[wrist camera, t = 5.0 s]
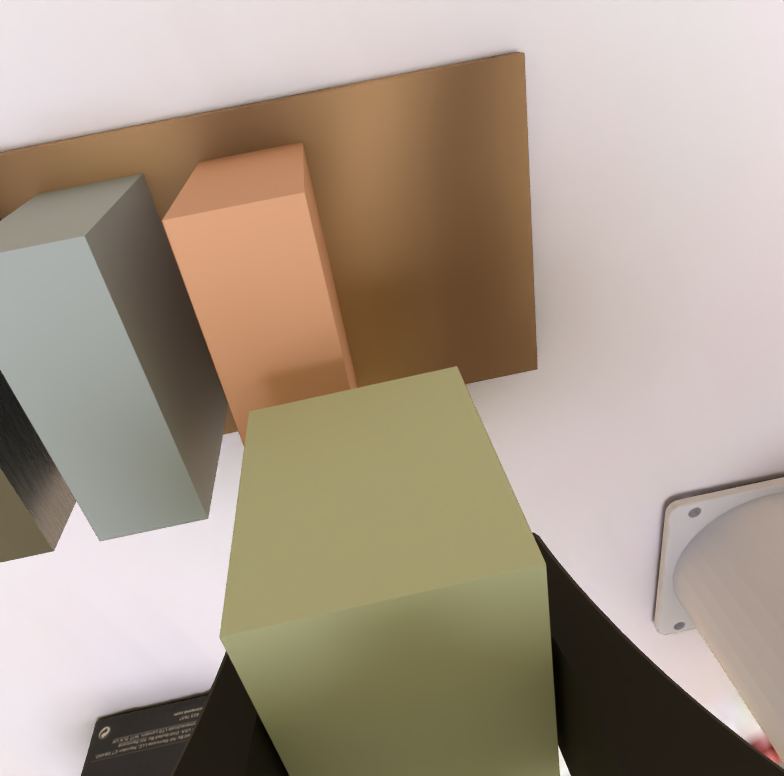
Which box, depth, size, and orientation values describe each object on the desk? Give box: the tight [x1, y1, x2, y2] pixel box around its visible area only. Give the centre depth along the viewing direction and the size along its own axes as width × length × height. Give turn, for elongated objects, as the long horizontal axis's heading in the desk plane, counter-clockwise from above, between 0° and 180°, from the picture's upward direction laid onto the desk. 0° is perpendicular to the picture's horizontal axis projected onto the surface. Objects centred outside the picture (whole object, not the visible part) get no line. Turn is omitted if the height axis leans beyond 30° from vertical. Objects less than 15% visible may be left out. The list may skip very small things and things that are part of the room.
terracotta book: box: [162, 142, 357, 446], centre depth 15 cm, size 3×7×5 cm, turn 9°
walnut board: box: [0, 52, 537, 434], centre depth 18 cm, size 16×9×1 cm, turn 99°
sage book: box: [220, 366, 560, 776], centre depth 11 cm, size 4×7×5 cm, turn 10°
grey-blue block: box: [0, 173, 228, 541], centre depth 15 cm, size 3×7×5 cm, turn 9°
